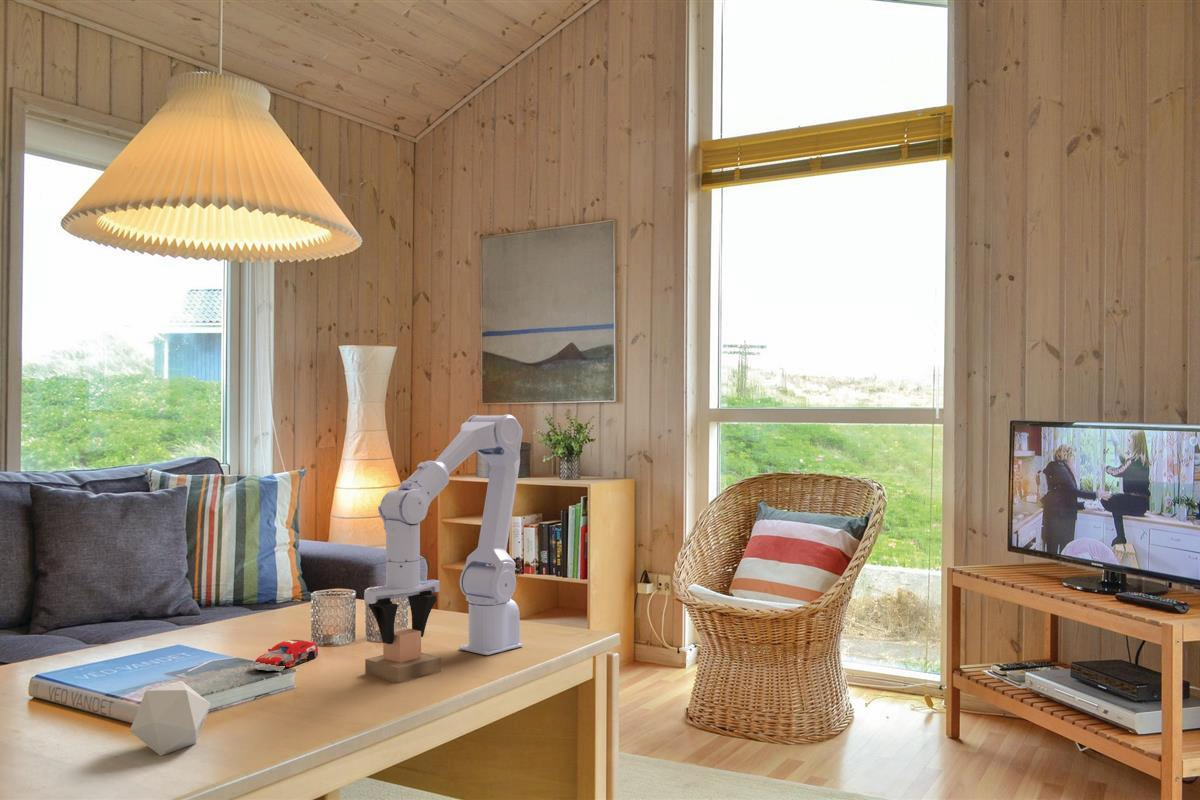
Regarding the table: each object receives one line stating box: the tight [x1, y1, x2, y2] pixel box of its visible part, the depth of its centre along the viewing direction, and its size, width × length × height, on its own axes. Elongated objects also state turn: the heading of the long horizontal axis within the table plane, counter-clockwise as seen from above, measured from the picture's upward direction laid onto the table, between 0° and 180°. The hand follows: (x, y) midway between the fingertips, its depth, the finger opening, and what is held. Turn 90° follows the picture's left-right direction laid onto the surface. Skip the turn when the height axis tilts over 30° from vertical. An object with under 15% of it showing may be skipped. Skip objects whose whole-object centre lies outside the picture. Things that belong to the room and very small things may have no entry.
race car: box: [254, 639, 319, 668], centre depth 166 cm, size 13×5×4 cm, turn 157°
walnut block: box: [364, 652, 442, 684], centre depth 160 cm, size 9×9×3 cm
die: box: [129, 680, 212, 756], centre depth 124 cm, size 8×9×10 cm
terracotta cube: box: [382, 627, 422, 663], centre depth 160 cm, size 4×4×4 cm
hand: (403, 639), depth 160 cm, fingers open, 6 cm apart
